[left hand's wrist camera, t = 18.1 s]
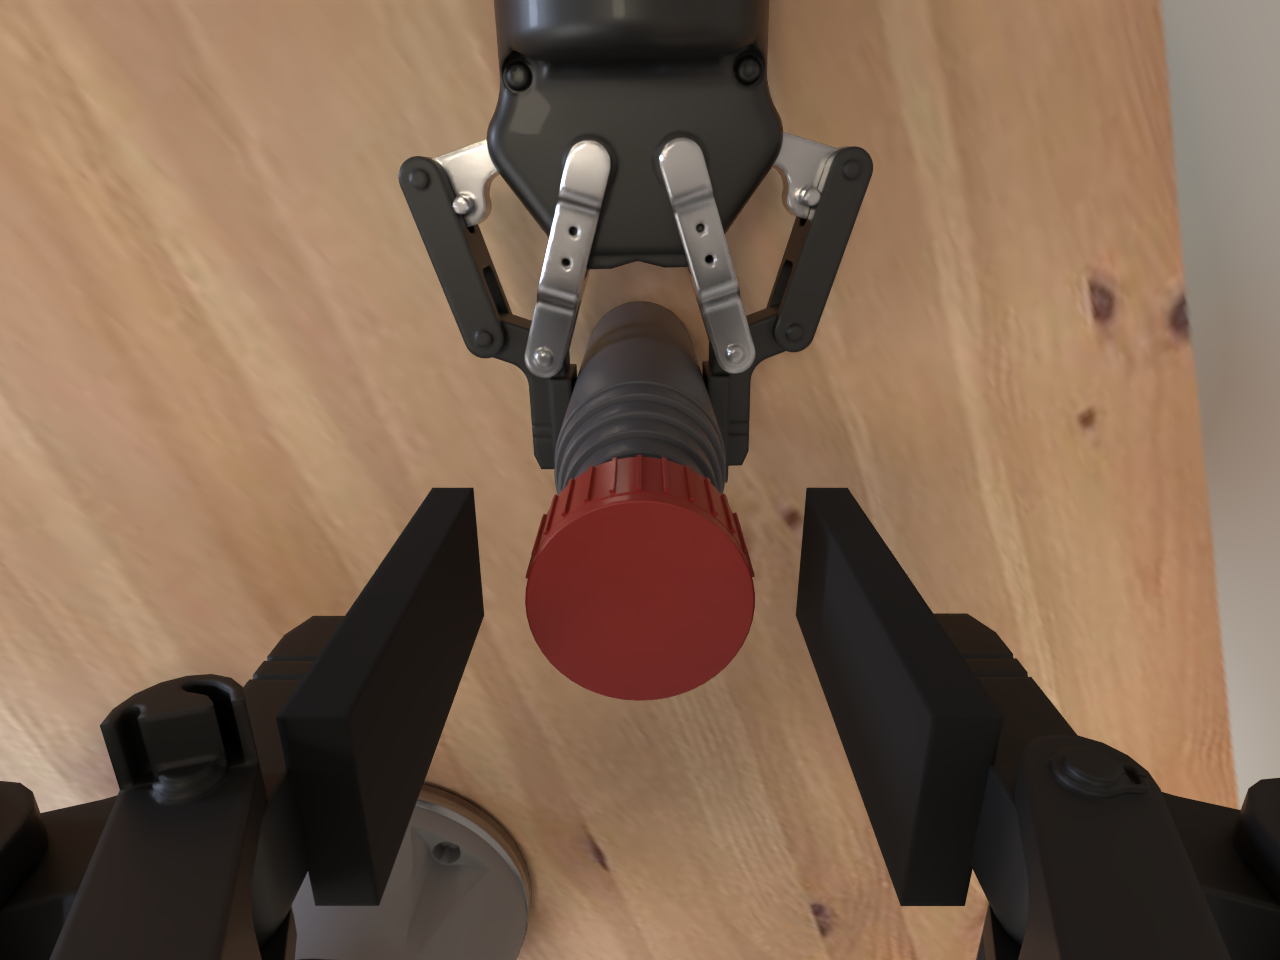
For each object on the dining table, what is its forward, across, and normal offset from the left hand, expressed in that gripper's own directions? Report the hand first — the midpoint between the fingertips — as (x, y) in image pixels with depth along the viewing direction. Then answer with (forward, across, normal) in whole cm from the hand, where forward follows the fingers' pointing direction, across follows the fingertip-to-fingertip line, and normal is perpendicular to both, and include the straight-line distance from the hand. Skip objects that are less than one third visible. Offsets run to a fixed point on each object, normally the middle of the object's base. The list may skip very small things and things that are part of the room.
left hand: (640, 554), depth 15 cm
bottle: (+18, 0, 0) cm, 18 cm away
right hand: (+11, 0, -3) cm, 12 cm away
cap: (-2, 0, 0) cm, 2 cm away
